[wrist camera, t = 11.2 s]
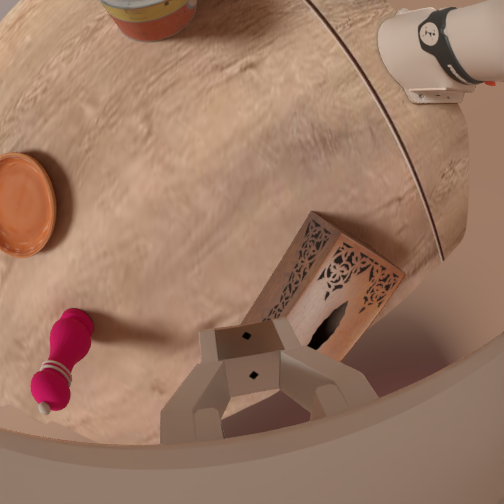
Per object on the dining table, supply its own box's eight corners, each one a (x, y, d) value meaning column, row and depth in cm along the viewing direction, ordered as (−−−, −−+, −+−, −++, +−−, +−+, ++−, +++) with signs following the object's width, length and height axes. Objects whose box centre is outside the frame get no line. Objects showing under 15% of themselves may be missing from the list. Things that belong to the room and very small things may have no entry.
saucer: (57, 262, 37) (49, 270, 35) (-14, 238, 32) (-23, 244, 30) (71, 160, 32) (62, 162, 30) (-7, 144, 28) (-17, 146, 25)
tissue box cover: (310, 210, 43) (341, 232, 34) (372, 248, 48) (405, 274, 39) (230, 338, 49) (239, 380, 40) (294, 357, 54) (311, 393, 45)
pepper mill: (72, 297, 40) (28, 387, 22) (104, 325, 43) (76, 420, 25) (53, 319, 41) (12, 405, 23) (83, 344, 44) (55, 434, 26)
